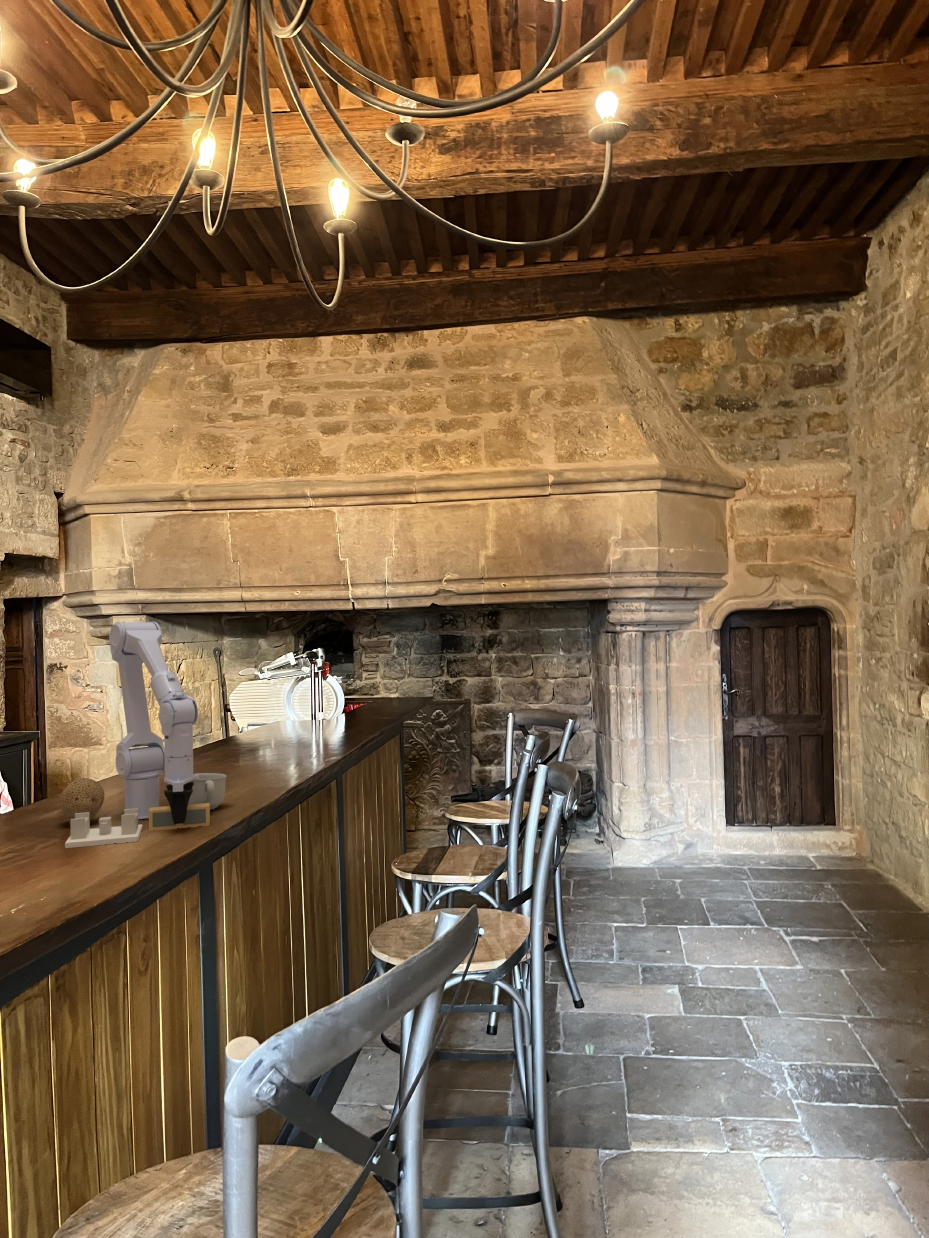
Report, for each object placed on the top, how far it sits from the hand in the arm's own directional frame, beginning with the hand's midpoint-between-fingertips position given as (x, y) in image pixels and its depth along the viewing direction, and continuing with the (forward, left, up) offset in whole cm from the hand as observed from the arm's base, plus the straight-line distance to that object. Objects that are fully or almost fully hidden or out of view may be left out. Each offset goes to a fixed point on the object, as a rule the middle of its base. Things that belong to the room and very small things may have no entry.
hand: (179, 820), depth 169 cm
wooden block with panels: (0, 0, -2) cm, 2 cm away
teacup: (-16, +4, -2) cm, 16 cm away
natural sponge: (-12, -21, -2) cm, 24 cm away
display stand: (+4, -14, -1) cm, 15 cm away
